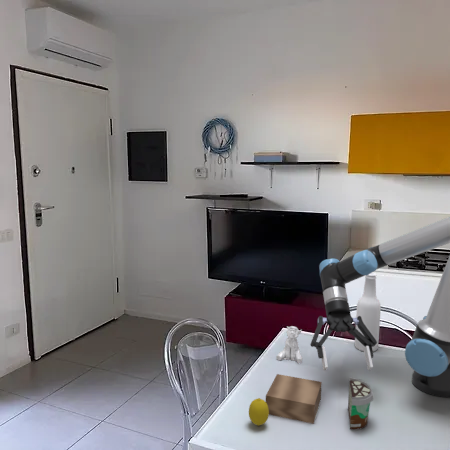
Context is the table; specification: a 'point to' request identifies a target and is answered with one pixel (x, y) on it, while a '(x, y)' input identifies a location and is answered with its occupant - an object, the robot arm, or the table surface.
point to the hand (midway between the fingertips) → (348, 368)
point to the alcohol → (369, 310)
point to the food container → (358, 403)
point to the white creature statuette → (291, 346)
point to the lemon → (258, 411)
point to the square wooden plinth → (294, 398)
